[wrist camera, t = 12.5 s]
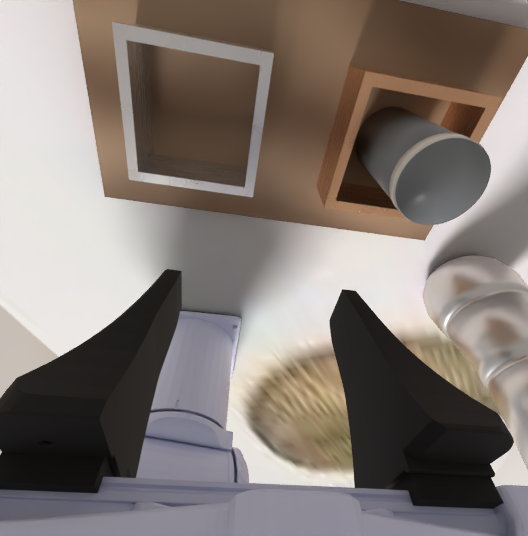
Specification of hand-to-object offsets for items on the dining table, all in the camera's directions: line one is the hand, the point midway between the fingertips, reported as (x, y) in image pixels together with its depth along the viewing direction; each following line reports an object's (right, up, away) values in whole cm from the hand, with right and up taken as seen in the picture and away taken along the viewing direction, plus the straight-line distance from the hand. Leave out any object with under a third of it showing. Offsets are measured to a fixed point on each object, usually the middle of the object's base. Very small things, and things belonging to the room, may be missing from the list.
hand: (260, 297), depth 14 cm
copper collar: (+7, +9, +5) cm, 13 cm away
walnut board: (+2, +10, +4) cm, 11 cm away
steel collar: (-3, +10, +3) cm, 11 cm away
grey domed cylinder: (+7, +9, +4) cm, 12 cm away
